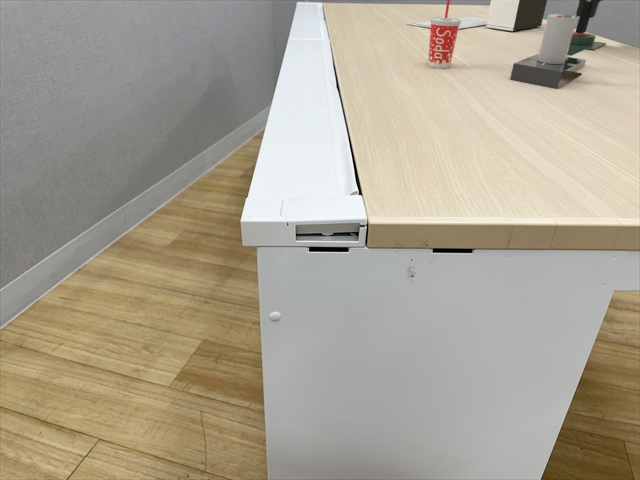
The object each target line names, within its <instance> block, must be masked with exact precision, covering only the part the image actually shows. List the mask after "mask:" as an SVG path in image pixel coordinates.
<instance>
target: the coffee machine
mask: <svg viewBox="0 0 640 480" xmlns="http://www.w3.org/2000/svg"><path fill="white" fill-rule="evenodd" d="M547 3H548V0H490V4H489V9H488V15H487V18H481V17H480V18H479V17H474V16H467V17H465V18H462V19H461V25H459V28H458V30H461V29H467V28H473V27H480V26H485V27H486V28H489V29H490V30H494V31H502V32H515V31H520V30H526V29H531V28H532V29H533V28H537V27H542V24H543V20H544V16H545V11H546V7H547ZM408 25H409V26H416V27H420V28H421V27H422V28H427V29H431V23H430V20H426V21H425V20H424V21H419V22H411V23H408Z"/></svg>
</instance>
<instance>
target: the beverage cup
mask: <svg viewBox="0 0 640 480" xmlns="http://www.w3.org/2000/svg"><path fill="white" fill-rule="evenodd" d="M450 1H451V0H446V6H445V12H444V16H433V17H430V18H429V21H430V23H431V28H430V31H429V32H430V33H429V43H428V44H429V45H428V56H427V66H428V67H430V68H434V69H435V68H436V69H449V68H450V67H451V63H452V60H453V55H454V50H455V45H456V41H457V37H458V32H459V29H458V28H459V25H461V19H457V18H455V17H450V16H448V15H449V10H450V9H449V8H450Z"/></svg>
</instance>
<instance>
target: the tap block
mask: <svg viewBox="0 0 640 480" xmlns="http://www.w3.org/2000/svg"><path fill="white" fill-rule="evenodd" d="M538 54H539V53H537V54H534V55H531V56H526V58H523V59H521V60H518V61H516V62H513V65H512V68H511V73H510V78H509V80H512V81H517V82H521V83H525V84H533V85H538V86H542V87H546V88H552V89H559V88H561V87H563V86H565V85H567V84H568V83H570V82H572V81H574V80H576V79H579V78H580V77H581V76H583V73H582V72H576V71H578V70H581V69H582V68H584V67H585V65H586V63H587V59H585V58H584V59H583V58H578V57H572V56H567V57H566V60H565V63H564V64H548V63H543V62H539V61H538V60H537V58H538Z"/></svg>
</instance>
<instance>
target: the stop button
mask: <svg viewBox="0 0 640 480" xmlns="http://www.w3.org/2000/svg"><path fill="white" fill-rule="evenodd" d="M575 32H576V31H574V32H573V35H576V36H588V35H589V34H590V33H588V32H584V33H575Z"/></svg>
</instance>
